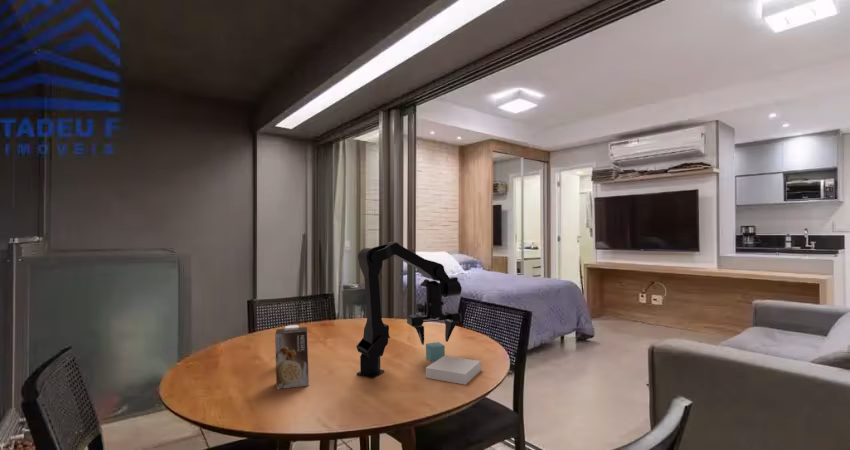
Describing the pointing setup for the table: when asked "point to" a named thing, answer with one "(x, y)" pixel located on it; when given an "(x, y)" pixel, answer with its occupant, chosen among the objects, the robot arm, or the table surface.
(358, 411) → the table surface
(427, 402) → the table surface
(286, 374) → the coffee box
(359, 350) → the robot arm
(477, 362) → the grey base
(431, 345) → the teal block
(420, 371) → the table surface
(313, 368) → the table surface
